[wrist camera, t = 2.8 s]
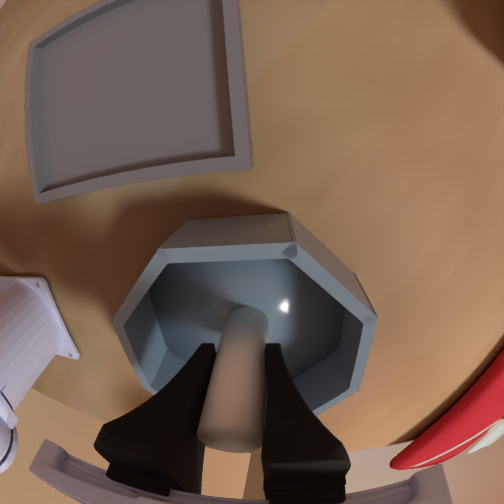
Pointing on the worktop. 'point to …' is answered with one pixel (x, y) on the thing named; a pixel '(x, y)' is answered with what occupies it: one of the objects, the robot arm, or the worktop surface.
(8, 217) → the worktop surface
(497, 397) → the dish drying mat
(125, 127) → the tray
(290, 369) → the blue-grey octagonal bowl
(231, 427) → the dowel pin
